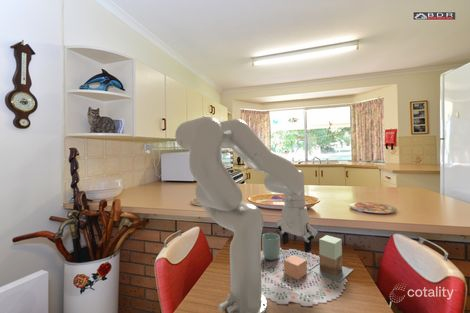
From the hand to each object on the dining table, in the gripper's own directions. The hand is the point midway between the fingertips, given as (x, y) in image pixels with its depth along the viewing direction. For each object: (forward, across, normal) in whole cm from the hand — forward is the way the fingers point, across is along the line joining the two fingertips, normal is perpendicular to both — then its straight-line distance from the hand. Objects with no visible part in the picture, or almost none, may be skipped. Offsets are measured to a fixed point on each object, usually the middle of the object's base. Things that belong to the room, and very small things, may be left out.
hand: (296, 247), depth 84 cm
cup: (+11, -15, +3) cm, 19 cm away
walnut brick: (+10, +8, +11) cm, 17 cm away
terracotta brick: (+11, 0, -1) cm, 11 cm away
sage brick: (+4, +8, +11) cm, 14 cm away
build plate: (+11, +8, +11) cm, 17 cm away
